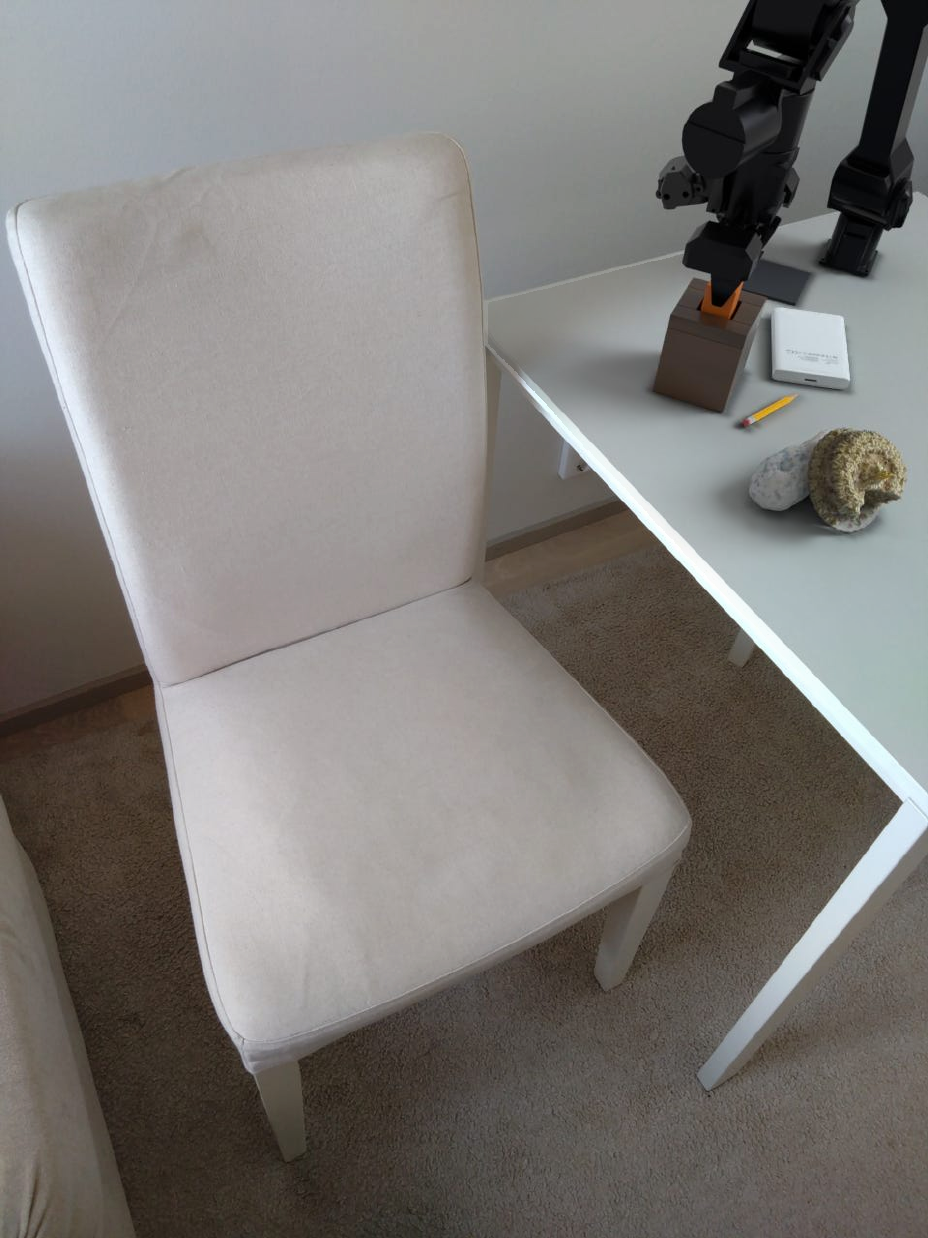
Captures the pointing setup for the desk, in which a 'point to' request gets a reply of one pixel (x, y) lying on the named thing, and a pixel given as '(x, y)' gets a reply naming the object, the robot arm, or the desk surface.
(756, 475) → the decorative stone
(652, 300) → the desk surface
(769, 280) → the coaster
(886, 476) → the coral piece
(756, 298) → the holder
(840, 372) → the hard drive
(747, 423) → the pencil
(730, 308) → the block
